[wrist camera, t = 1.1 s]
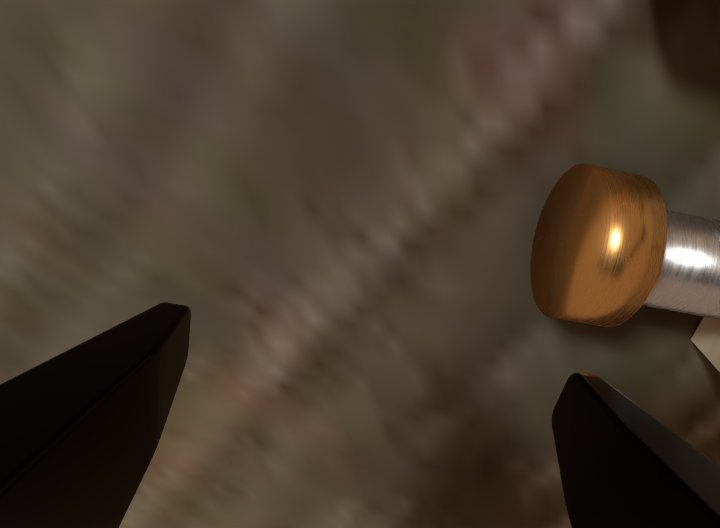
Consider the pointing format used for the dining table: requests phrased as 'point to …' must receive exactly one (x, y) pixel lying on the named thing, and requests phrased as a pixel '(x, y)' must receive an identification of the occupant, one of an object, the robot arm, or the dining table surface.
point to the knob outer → (621, 251)
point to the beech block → (709, 340)
